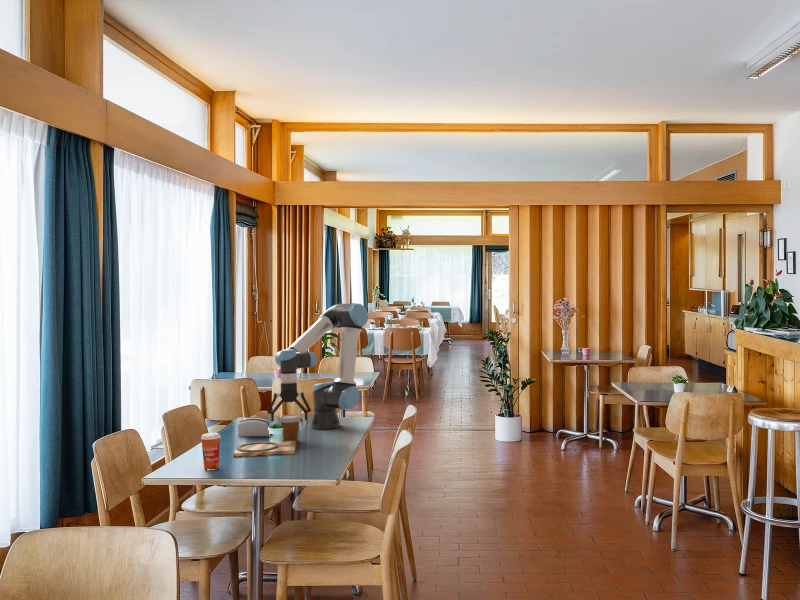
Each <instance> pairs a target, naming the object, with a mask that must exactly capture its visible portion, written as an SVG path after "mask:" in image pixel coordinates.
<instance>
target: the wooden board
mask: <svg viewBox="0 0 800 600" xmlns="http://www.w3.org/2000/svg"><path fill="white" fill-rule="evenodd" d="M296 447H297V442H296V441H284V440H283V441H253V442H245V443H238V444H237V446H236V448H235V450H234V452H233V457H234V456H248V457H258V456H257V455H265V456H274V455H273V454H282V455H295V454H296Z"/></svg>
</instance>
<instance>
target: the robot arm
mask: <svg viewBox="0 0 800 600" xmlns="http://www.w3.org/2000/svg"><path fill="white" fill-rule="evenodd" d="M368 320H369V313H368V311H367V309H366V307H365V306H364V305H363V304H361V303H355V302H353V303H351V302H350V303H337V304H334V305H332V306H331V307H329V308H327V310H325V311H323V312H322V313H321V314H320V315H319V316H318V318H317V320H316V322H315V323H313V324H312V325H311V326H310V327H309V328H308V329H307V330H306V331H305V332H304V333H303V334H302V335H300V336H299V337H298V338H297V339H296V340H295V341H294V342H293V343H292V344H291V345H289V346H288V348H287V349H281V350H280V351H278V352H277V353H276V354H275V358H274V361H275V363H276V365H278V366H279V368H280V393H277V392H274V394H273V399H272V401H271V403H270V404H269V407H268V409H267V414H270V415H271V416H270V418H271V419H270V420H271V421H270V422H273V425H274V424H276V425H277V422H276V421H277V418H276V414H277V413H276V412H277V410H278V409H279V408H280V406H281V405H282V404H283V403H293V402H294V403H295V404H297V406H298V407H299V408H300V409H301V410H302V411H303V412H302V423H303V424H302V426H303V428H306V421H307V420H308V413H310V412H312V408H311V407H310V405H309V403H308V401H307V399H306V398H305V393H304V391H301V392H298V383H297V382H298V381H297V380H298V376H297V375H298V372H297V371H298V369H306V368H307V369H310V368H313V367H315V366H316V365H317V362H318V360H317V359H318V358H317V354H315V352H312V351H309V350H310V348H311V347H312V346H314V345H315V343H317V342H318V341H319V340H320V339H321V338H322V337H323V336H325V334H326V333H327V332H331V331H333V329H335V328H336V327H339V330H340V331H341V338H340V339H341V340H340V347H339V357H338V365H337V366H338V367H337V375H336V378H335V379H334V380H333V381H329V382H328V381H327V382H320V383H315V384H314V385H313V388H312V389H313V390H312V399H313V400H312V401H313V414H312V418H311V422H310V428H311V429H314V430H333V429H337V428H340V427H341V421H340V418H339V415H338V413H337V409H340V410H353V409H354V408H355V407H356V406H357V405H358V403H359V401H360V398H361V395H360V394H361V393H360V391H359V388H357V383H356V381H355V371H356V364H357V363H356V361H357V355H358V354H357V352H358V344H359V343H358V342H359V334H360V333H361V332H362V331H363V327H364V326H366V324H367V322H368ZM298 396H299V397H300V398H301V399H302V401H303V402H302V403H304V405H305V406H304V405H303V404H302V403H301V402H300V401H299V400H298ZM279 397H280V398H281V399H280V401H279V402H278V403H277V405H276V406H275V407H274V404H275V402H276V400H277V399H278V398H279ZM273 407H274V408H273ZM305 407H306V408H305Z"/></svg>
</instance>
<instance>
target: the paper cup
mask: <svg viewBox="0 0 800 600" xmlns="http://www.w3.org/2000/svg"><path fill="white" fill-rule="evenodd" d="M200 439H201V448H202V460H203V468H204V469H216V468H220V447H221V446H220V441H221V440H220V439H221V435H220V433H218V432H207V433H203V434H202V435H201V437H200Z"/></svg>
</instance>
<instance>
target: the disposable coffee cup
mask: <svg viewBox="0 0 800 600" xmlns="http://www.w3.org/2000/svg"><path fill="white" fill-rule="evenodd" d="M300 420H301V418H300V415H297V414H287V415H282V416H280V419H279V422H280V426H281V425H282V426H283V433H282V439H283V441H296V443H297V442H298V439H299V438H298V437H299V429H300V428H299V427H300Z"/></svg>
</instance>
